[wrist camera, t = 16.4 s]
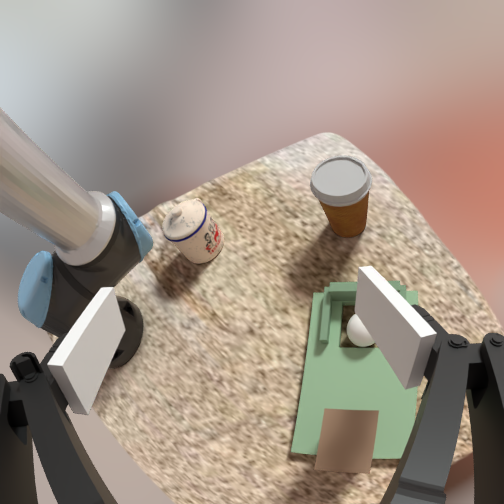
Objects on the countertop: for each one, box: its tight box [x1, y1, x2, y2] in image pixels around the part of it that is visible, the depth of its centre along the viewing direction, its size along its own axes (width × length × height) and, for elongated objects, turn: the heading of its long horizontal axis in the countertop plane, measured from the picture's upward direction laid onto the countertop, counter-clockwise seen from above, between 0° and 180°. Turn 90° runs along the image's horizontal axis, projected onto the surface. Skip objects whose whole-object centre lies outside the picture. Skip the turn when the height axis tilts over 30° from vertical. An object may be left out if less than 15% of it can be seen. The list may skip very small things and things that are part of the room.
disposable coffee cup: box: [310, 156, 372, 237], centre depth 48 cm, size 10×10×12 cm
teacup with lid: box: [162, 198, 224, 264], centre depth 58 cm, size 12×9×12 cm
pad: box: [291, 281, 418, 459], centre depth 37 cm, size 16×24×5 cm, turn 169°
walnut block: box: [314, 408, 379, 474], centre depth 28 cm, size 5×6×14 cm
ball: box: [347, 314, 375, 347], centre depth 40 cm, size 5×5×5 cm
